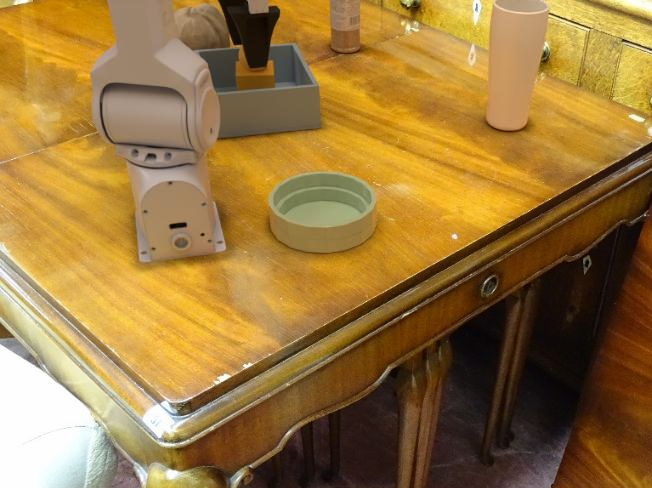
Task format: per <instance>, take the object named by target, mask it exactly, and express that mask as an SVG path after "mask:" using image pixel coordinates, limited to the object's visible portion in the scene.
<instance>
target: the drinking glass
mask: <svg viewBox="0 0 652 488" xmlns="http://www.w3.org/2000/svg"><path fill="white" fill-rule="evenodd" d="M491 6H492V7H491V13H490V21H489V28H488V29H489V30H488V51H487V52H488V55H487V56H488V57H487V59H488V60H487V61H488V62H487V68H488V69H487V99H486V100H487V101H486V102H487V103H486V114H485V120H486V122H487V123H488V125H489V126H491V127H492V128H495V129H497V130H501V131H505V132H506V131H507V132H508V131H509V132H511V131H512V132H513V131H518V130H521V129H524V127H526V126H527V123H528V121H529V115H530V109H531V105H532V98H533V94H534V92H535V91H534V90H535V87H536V82H537V78H538V73H539V69H540V65H541V61H542V56H543V52H544V48H545V43H546V38H547V32H548V26H549V16H550V5H549V3H548V2H546V1H545V0H493V1H492V5H491Z"/></svg>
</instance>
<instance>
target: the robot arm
mask: <svg viewBox="0 0 652 488" xmlns="http://www.w3.org/2000/svg"><path fill="white" fill-rule="evenodd" d="M106 1H107V5H108V6H107V7H108V10H109V16H110V20H111V25H112V30H113V34H114V39H115V43H114V44H113V45H111V46H109V48H108V49H107V50H105V51H104V52H103V53H102V54H100V55H99V56H98V58H96V60H94V62H93V64H92V67H91V68H90V71H89V79H90V85H91V96H92V97H91V117H92V121H93V125H94V128H95V130H96V131H97V133H98V135H99V136H100V138H101V139H102V140H103V141H104V142H105V143H106V144H108V145H110V146H111V145H112V146H113V147H114V152H115V155H116V157H120V158H124V161H125V165H126V170H127V174H128V179H129V182H130V188H131V192H132V196H133V202H134V205H135V211H134V216H135V217H134V218H135V228H136V237H137V238H136V239H137V248H138V249H137V250H138V261H139V263H141V264H147V263H154V262H155V263H156V262H162V261H169V260H176V259H182V258H190V257H197V256H204V255H212V254H219V253H224V252H226V251H227V245H226V240H225V236H224V232H223V229H222V225H221V224H222V223H221V220H220V215H219V211H218V208H217V207H218V206H217V203H216V201H215V200H213V194H212V193H213V192H212V188H211V187H212V186H211V179H210V174H209V166H208V159H207V153H209V151H210V150H211V149H212V148H213V146H215V144H216V142H217V141H218V139H217V137H218V134H219V128H220V104H219V99H218V96H217V93H216V91H215V90H214V87H213V83H212V79H211V74H210V71H209V69H208V64H207V62H206V61H205V60H204V59H202V58H201V57H200V56H199V55H198V54H196V53H195V52H194V51H193V50H191V49H190V48H189V47H187V46H186V45H185V44H184V43H183V42H181V41H180V40H179V39H178V37H177V32H176V26H175V19H174V13H175V12H174V7H173V1H172V0H106ZM217 2H218V4H219V6H220V8H221V12H222V15H223V16H224V19H225V21H226V24H227V27H228V31H229V35H230V41H231V42H232V44H233V46H234V47H237V46H243V50H244V54H245V58H246V61H247V64H248V66H249V68H251V69H252V68H261V67H267V63H268V58H269V50H270V45H271V44H272V43H271V42H272V37H273V34H274V30H275V28H276V25H277V22H278V21H279V19H280V17H281V9H280V8H279V6H277V5H269V0H217Z"/></svg>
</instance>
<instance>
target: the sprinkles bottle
mask: <svg viewBox="0 0 652 488" xmlns="http://www.w3.org/2000/svg"><path fill="white" fill-rule="evenodd" d="M329 23H330V24H329V26H330V40H331V43H330V48H331V49H332V50H333V51H334V52H337V53H342V54H351V53H356V52H357V51H359V50H360V49H361V47H362V46H361V39H360V38H361V36H360V33H361V32H360V31H361V29H360V28H361V0H329Z"/></svg>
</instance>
